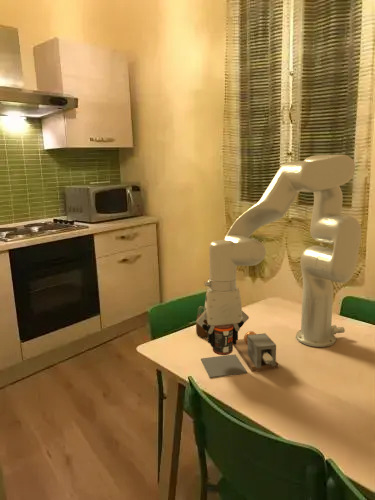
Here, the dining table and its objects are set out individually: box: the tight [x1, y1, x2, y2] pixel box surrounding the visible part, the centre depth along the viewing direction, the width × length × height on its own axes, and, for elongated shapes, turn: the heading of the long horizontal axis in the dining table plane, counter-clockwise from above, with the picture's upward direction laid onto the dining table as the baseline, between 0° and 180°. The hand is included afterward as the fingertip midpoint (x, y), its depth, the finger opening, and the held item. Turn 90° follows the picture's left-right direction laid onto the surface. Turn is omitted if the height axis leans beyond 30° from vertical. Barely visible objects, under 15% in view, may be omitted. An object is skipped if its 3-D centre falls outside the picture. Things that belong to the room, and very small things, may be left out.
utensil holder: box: [195, 305, 208, 338], centre depth 137 cm, size 6×6×12 cm
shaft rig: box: [233, 332, 279, 373], centre depth 121 cm, size 19×8×8 cm, turn 11°
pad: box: [200, 354, 248, 379], centre depth 116 cm, size 11×11×1 cm
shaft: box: [243, 330, 273, 365], centre depth 117 cm, size 15×4×4 cm, turn 11°
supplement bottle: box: [212, 324, 234, 356], centre depth 114 cm, size 6×6×11 cm
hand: (222, 343), depth 115 cm, fingers closed on supplement bottle, 6 cm apart
